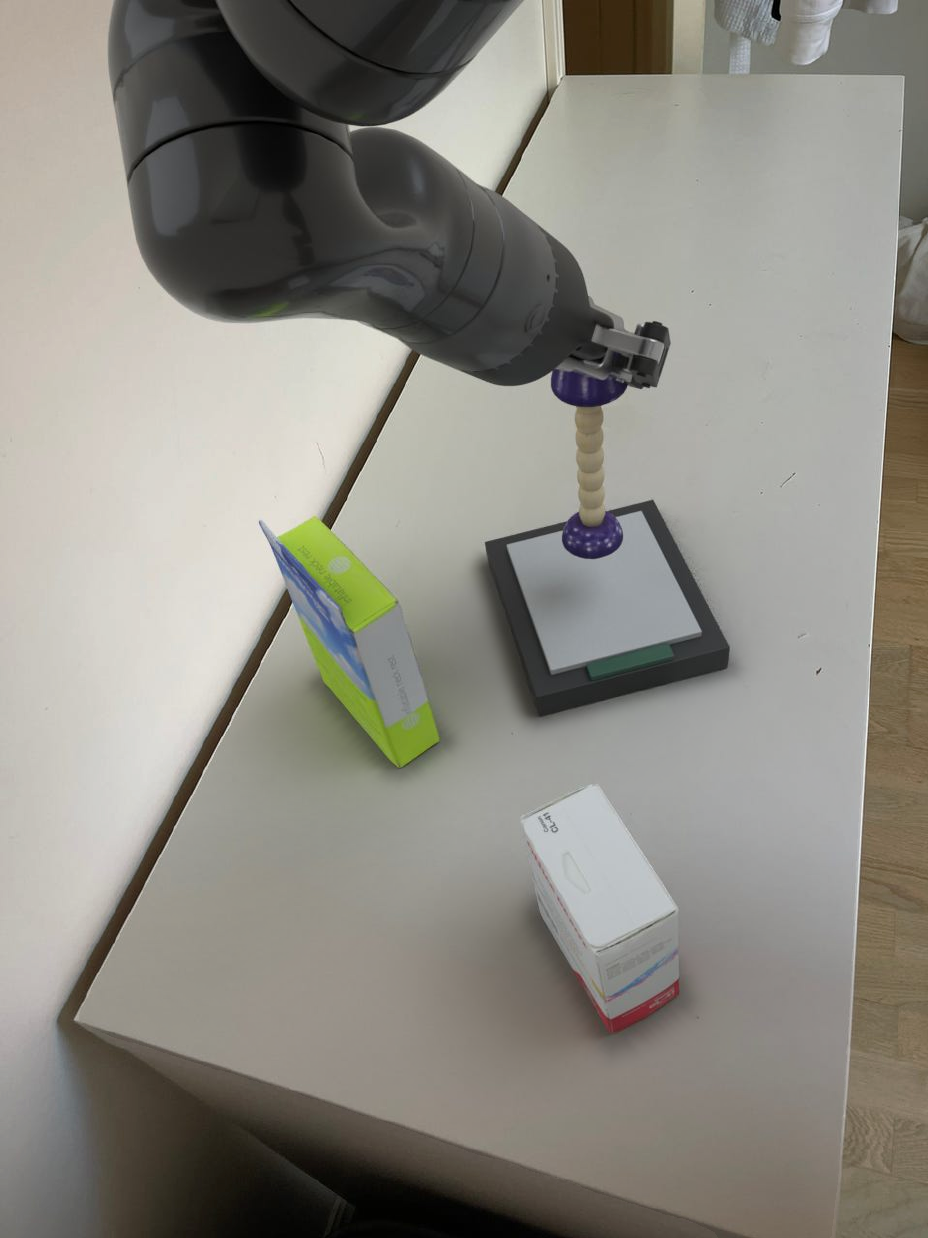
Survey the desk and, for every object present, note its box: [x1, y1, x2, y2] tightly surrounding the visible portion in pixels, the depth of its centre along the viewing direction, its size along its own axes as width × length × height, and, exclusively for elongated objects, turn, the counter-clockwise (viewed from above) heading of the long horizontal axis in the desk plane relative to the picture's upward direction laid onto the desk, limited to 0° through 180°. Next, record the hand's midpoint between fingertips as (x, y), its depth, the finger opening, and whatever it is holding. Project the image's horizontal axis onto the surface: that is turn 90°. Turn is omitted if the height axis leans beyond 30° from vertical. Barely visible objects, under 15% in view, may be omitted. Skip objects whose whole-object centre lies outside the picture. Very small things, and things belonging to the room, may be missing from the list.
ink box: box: [519, 782, 680, 1034], centre depth 54 cm, size 9×5×12 cm, turn 25°
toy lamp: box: [550, 352, 629, 559], centre depth 63 cm, size 5×5×17 cm
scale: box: [484, 499, 731, 717], centre depth 75 cm, size 16×14×3 cm
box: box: [258, 515, 440, 769], centre depth 66 cm, size 10×4×17 cm, turn 36°
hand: (603, 361), depth 60 cm, fingers closed on toy lamp, 4 cm apart
